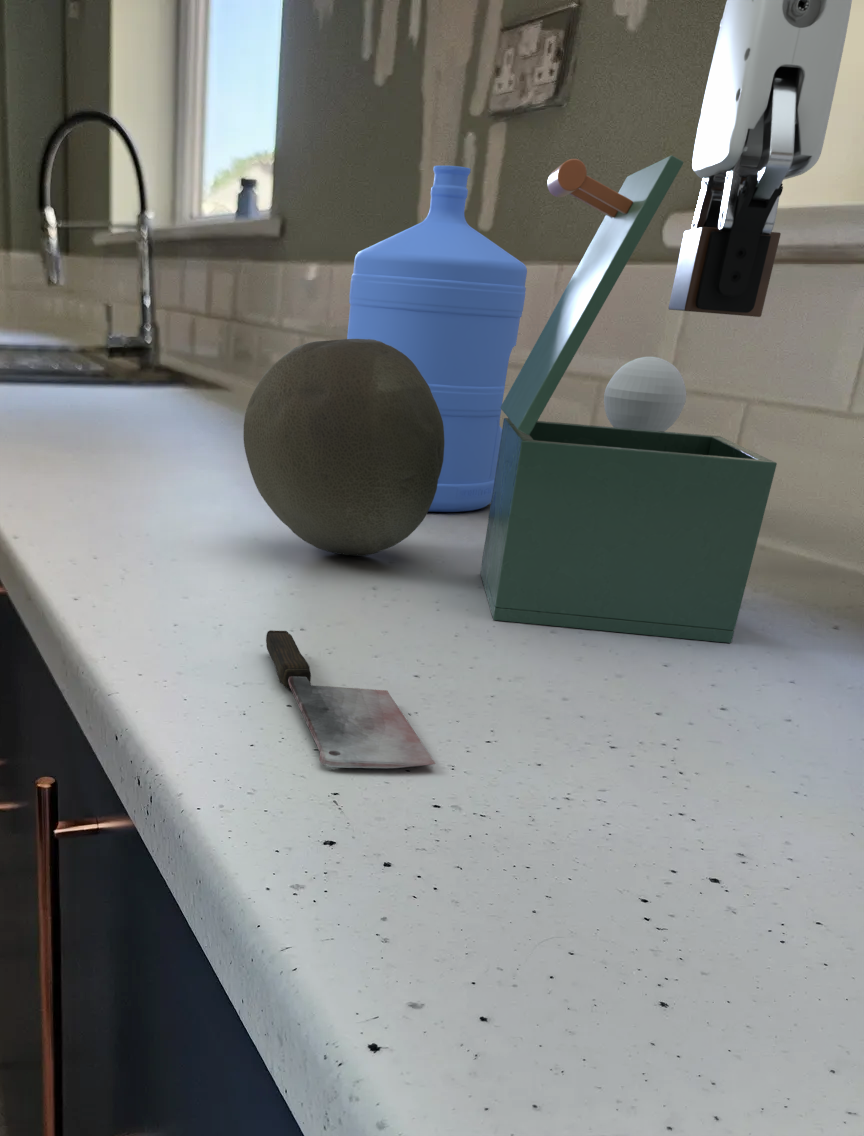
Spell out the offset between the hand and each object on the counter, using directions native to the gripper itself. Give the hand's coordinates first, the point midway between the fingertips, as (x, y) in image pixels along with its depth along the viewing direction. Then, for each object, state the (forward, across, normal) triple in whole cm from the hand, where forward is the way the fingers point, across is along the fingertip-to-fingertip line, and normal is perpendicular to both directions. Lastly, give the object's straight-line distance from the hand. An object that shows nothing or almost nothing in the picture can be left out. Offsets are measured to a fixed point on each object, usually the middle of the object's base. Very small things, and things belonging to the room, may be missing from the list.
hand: (712, 306), depth 67 cm
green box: (+19, 0, +3) cm, 19 cm away
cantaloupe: (+19, +8, +21) cm, 30 cm away
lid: (+1, 0, +7) cm, 7 cm away
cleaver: (+19, -25, +19) cm, 37 cm away
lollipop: (+19, +17, -1) cm, 25 cm away
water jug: (+19, +36, +15) cm, 43 cm away
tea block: (0, 0, 0) cm, 0 cm away
